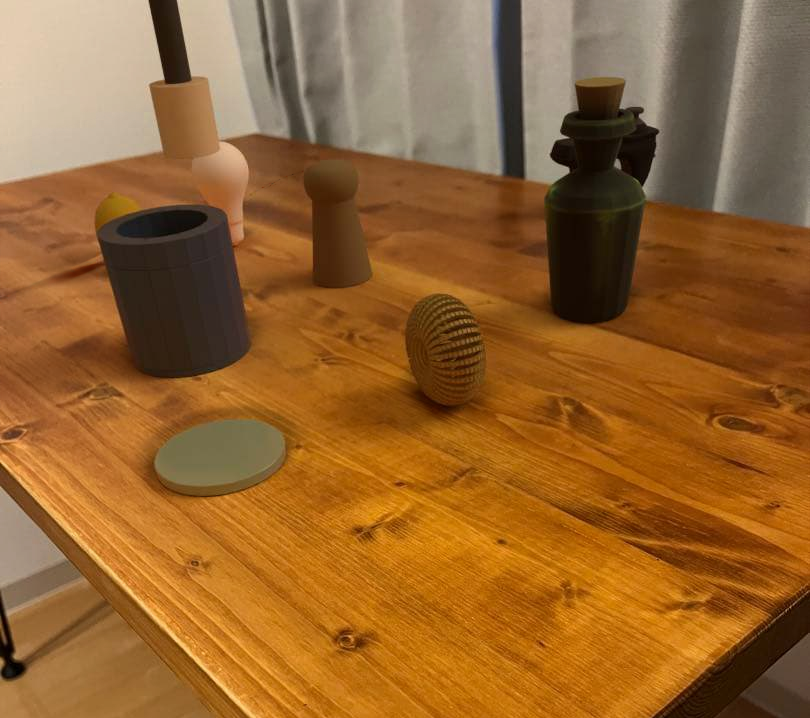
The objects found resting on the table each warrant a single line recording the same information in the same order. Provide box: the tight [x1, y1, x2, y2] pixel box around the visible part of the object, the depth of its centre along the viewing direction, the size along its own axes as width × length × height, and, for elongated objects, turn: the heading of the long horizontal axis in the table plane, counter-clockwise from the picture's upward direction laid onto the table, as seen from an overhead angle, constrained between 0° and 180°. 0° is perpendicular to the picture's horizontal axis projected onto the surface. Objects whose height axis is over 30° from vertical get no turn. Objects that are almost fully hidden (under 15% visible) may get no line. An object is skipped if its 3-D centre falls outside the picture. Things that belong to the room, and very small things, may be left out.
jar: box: [96, 203, 252, 378], centre depth 73 cm, size 10×10×11 cm
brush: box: [147, 0, 220, 160], centre depth 64 cm, size 4×4×17 cm
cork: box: [302, 158, 373, 289], centre depth 85 cm, size 6×6×11 cm
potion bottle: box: [543, 76, 647, 323], centre depth 72 cm, size 8×8×18 cm
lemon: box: [94, 191, 142, 243], centre depth 93 cm, size 6×6×8 cm
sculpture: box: [404, 292, 487, 407], centre depth 63 cm, size 8×4×8 cm, turn 24°
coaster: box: [153, 418, 288, 497], centre depth 60 cm, size 9×9×1 cm
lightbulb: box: [190, 140, 250, 247], centre depth 96 cm, size 6×6×11 cm
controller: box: [549, 106, 660, 188], centre depth 97 cm, size 4×12×10 cm, turn 110°
